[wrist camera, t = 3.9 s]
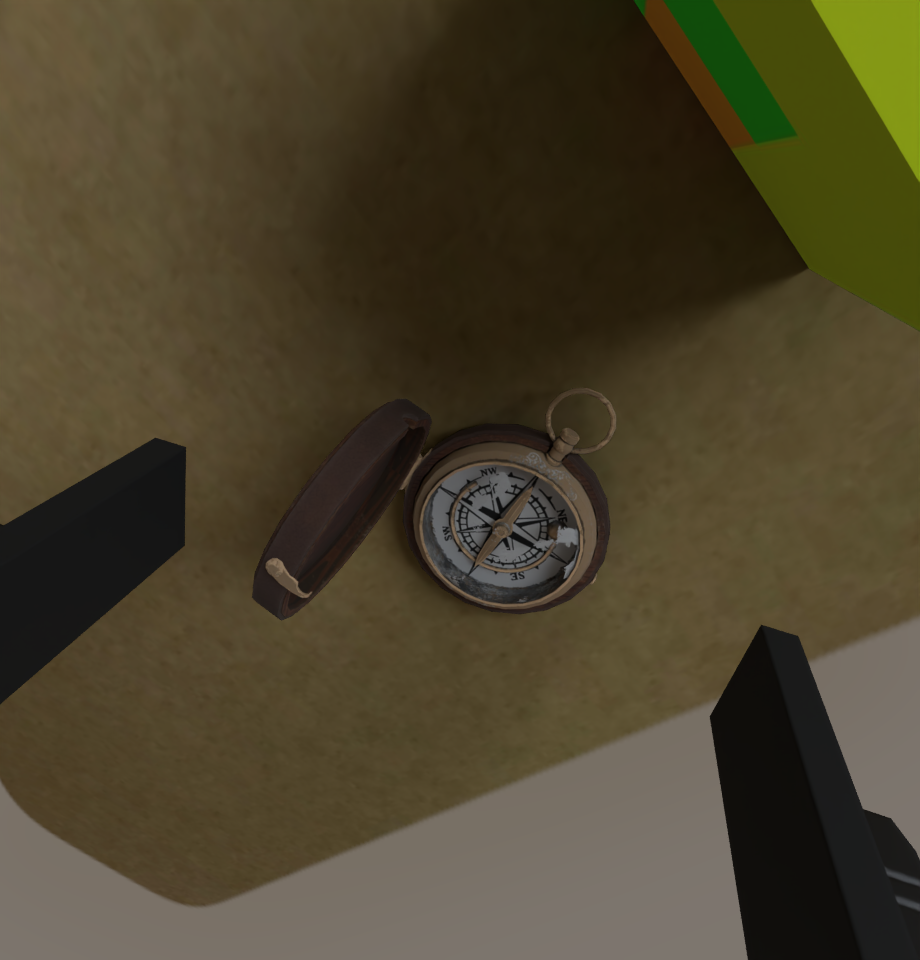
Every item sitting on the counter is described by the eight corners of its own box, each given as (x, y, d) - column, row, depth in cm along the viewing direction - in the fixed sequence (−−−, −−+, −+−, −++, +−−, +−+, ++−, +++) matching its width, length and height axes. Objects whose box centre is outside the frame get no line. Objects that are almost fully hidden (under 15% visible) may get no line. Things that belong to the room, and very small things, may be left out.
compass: (541, 630, 21) (503, 827, 15) (336, 503, 21) (208, 648, 15) (701, 446, 18) (740, 604, 11) (453, 288, 17) (348, 357, 11)
